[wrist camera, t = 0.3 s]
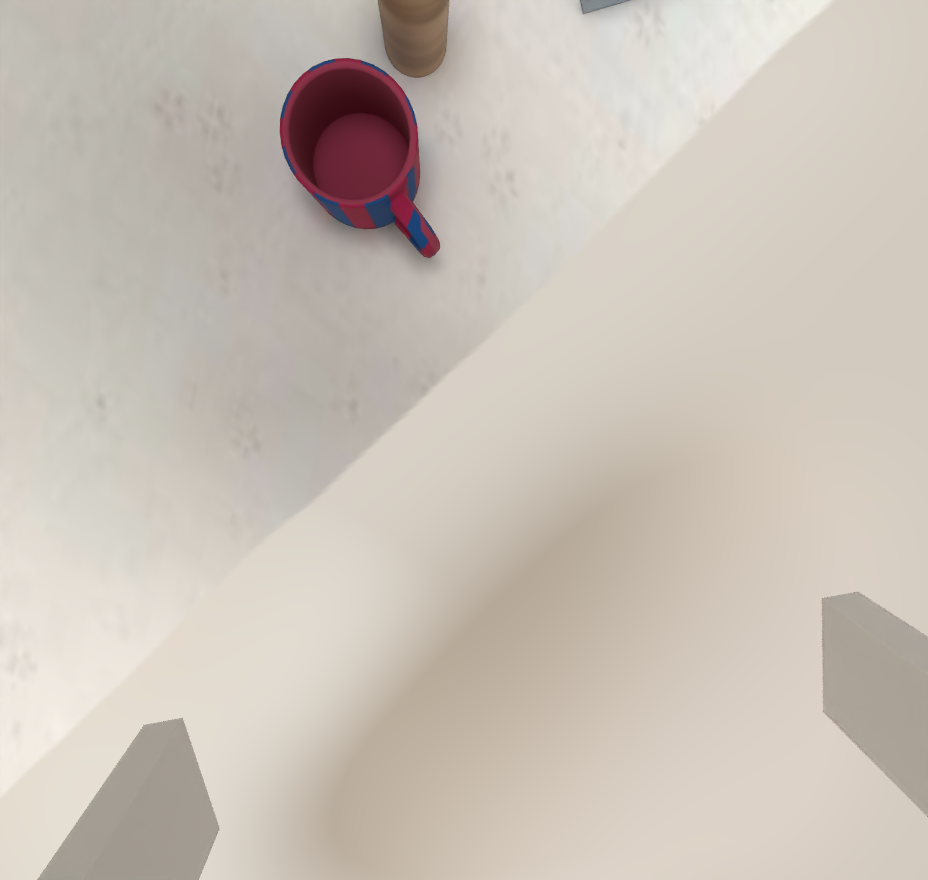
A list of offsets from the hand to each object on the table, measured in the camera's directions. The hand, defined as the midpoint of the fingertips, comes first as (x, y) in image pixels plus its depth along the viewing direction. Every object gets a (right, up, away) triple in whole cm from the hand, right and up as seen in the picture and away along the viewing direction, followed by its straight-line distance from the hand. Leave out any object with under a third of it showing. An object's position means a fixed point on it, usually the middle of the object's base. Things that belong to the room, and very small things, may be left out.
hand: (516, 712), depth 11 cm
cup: (-6, +21, +23) cm, 31 cm away
